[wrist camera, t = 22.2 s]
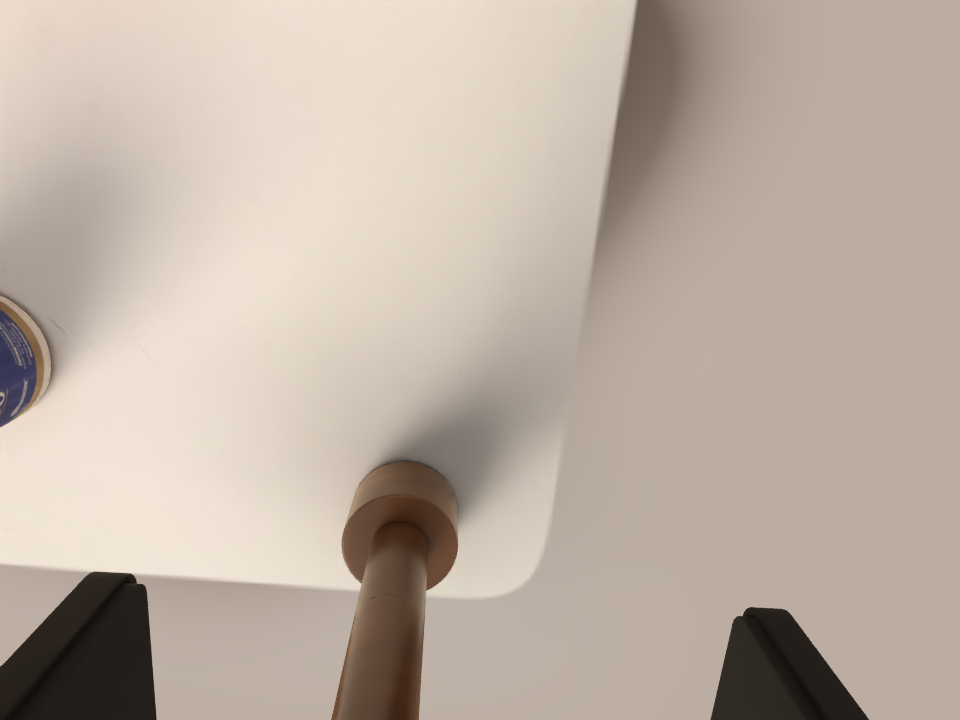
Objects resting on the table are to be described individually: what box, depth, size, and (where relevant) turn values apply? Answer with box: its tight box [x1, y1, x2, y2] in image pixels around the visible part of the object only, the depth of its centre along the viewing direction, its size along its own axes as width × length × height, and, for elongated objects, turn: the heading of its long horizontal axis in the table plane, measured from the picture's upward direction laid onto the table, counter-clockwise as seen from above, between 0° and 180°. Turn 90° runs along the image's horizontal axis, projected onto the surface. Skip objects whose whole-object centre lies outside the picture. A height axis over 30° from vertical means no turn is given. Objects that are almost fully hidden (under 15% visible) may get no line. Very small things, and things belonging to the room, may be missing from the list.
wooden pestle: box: [331, 461, 458, 720], centre depth 19 cm, size 4×4×16 cm
